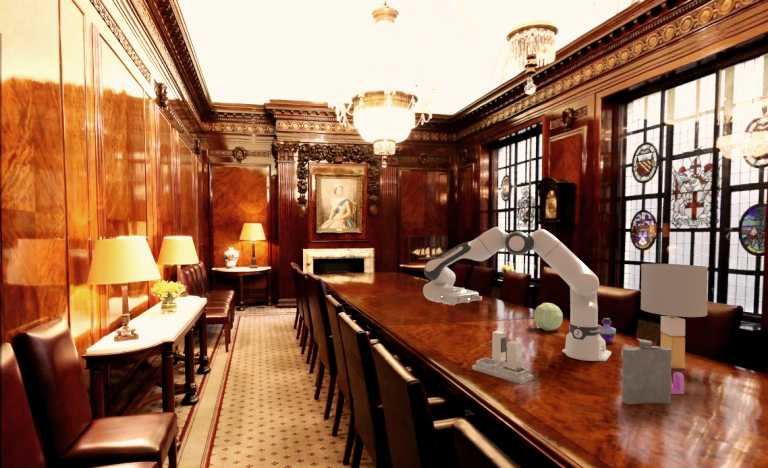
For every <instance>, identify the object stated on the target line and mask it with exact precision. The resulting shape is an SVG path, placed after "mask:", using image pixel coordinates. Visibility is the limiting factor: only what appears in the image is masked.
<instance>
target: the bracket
mask: <svg viewBox="0 0 768 468" xmlns="http://www.w3.org/2000/svg"><path fill="white" fill-rule="evenodd" d="M672 394H673V395H676V394H677V395H678V394H679V395H681V394H682V395H685V376H684V374H683V373H682V372H680V371H674V372H673V374H672V376H671V395H672Z"/></svg>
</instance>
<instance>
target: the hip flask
mask: <svg viewBox="0 0 768 468" xmlns="http://www.w3.org/2000/svg"><path fill="white" fill-rule="evenodd" d="M638 343H639V346H635V347H634V346H631V347H622V374H621V376H622V377H621V378H622V379H621V380H622V385H621V389H622V391H621V392H622V393H621V394H622V395H621V402H622V403H623V404H625V403H626V405H636V404H637V405H639V404H668V403H669V404H671V403H672V401H671V400H672V399H671V398H672V394H671V377H672V368H671V349H670V348H665V347H661V346H653V342H652V341H651V340H647V339H639V341H638ZM638 403H639V404H638Z"/></svg>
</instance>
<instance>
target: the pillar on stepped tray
mask: <svg viewBox="0 0 768 468" xmlns="http://www.w3.org/2000/svg"><path fill="white" fill-rule="evenodd" d="M522 358H523V342H521V341H517V340H510V341H506V360H505V363H506V364H505V365H504V361H497V360H494V359H492V358H490V357H484V358H481V359H477V360H475V364H473V365H471V370H473V371H477V372H480V373H481V374H482V373H483V374H486V375H489V376H492V377H494V378H495V377H496V378H499V379H502V380H505V381H508V382H512V383H515V384H518V385H519V384H520V385H524V384H526V383H528V382H530V381H532V380H534V374H530V372H529V370H530V369H529V368H526V367H523V359H522Z"/></svg>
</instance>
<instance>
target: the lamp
mask: <svg viewBox="0 0 768 468" xmlns="http://www.w3.org/2000/svg"><path fill="white" fill-rule="evenodd" d="M708 269H709V267H708V266H705V265H692V264H682V263H681V264H679V263H642V264H641V273H640V274H641V277H640V279H641V281H640V286H641V287H640V310H642V311H644V312H647V313H651V314H657V315H660V347H665V348H670V349H671V370H672V369H678V370H679V369H680V370H681V369H683V370H684V369H685V366H686V365H685V363H686V361H685V360H686V337H685V336H686V319H685V318H700V317H701V318H702V317H706V316H708V272H709V271H708ZM681 317H683V318H681Z"/></svg>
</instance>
